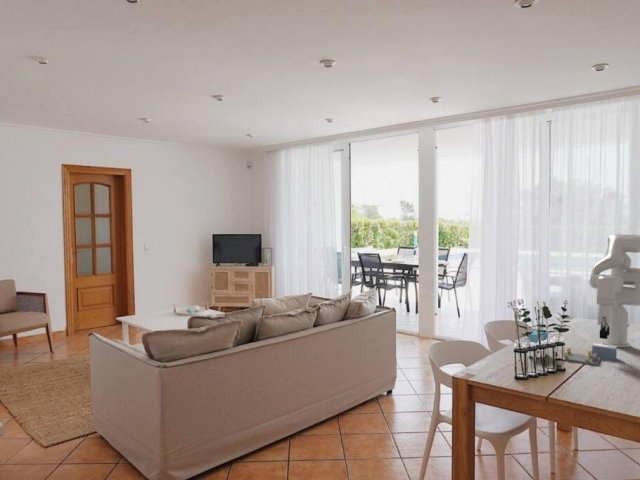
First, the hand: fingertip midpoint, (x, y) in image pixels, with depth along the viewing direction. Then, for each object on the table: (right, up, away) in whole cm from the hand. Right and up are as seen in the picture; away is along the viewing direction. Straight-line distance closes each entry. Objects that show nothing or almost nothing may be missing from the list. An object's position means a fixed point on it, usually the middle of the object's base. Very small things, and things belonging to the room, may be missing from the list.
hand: (604, 336), depth 230 cm
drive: (+1, -11, +1) cm, 11 cm away
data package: (-31, -11, +4) cm, 33 cm away
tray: (-14, -11, -2) cm, 18 cm away
